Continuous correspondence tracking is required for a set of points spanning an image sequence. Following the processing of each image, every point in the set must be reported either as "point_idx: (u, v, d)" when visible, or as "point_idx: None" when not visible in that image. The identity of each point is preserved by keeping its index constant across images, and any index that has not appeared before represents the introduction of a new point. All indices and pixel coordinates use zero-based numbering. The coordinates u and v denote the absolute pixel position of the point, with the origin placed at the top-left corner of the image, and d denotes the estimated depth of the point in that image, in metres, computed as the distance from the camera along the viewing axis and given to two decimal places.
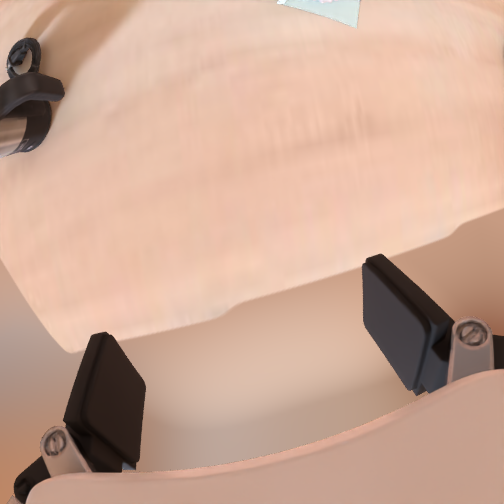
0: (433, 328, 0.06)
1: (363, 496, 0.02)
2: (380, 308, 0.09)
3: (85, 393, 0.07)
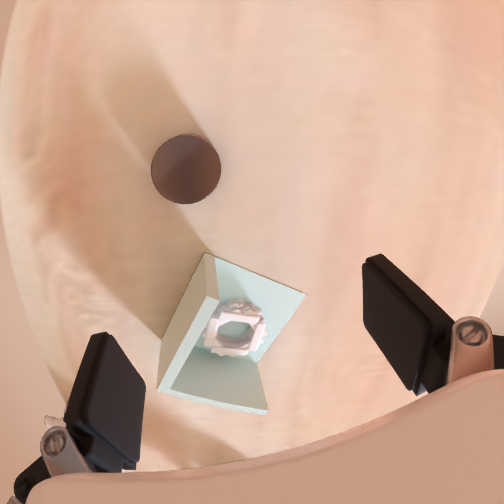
0: (433, 328, 0.06)
1: (363, 496, 0.02)
2: (380, 308, 0.09)
3: (85, 393, 0.07)
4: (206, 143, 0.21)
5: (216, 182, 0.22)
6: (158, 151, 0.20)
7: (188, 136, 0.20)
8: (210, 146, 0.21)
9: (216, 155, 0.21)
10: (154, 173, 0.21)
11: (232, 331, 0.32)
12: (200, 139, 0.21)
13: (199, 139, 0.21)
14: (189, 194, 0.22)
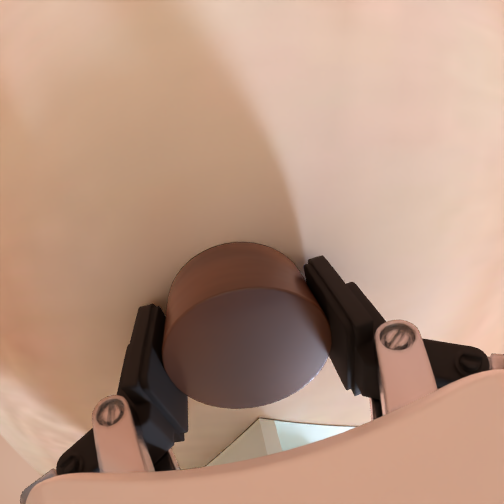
0: (355, 329, 0.07)
1: (363, 496, 0.02)
2: None
3: (142, 359, 0.08)
4: (308, 305, 0.08)
5: (315, 373, 0.10)
6: (177, 325, 0.08)
7: (262, 290, 0.08)
8: (317, 311, 0.08)
9: (327, 328, 0.09)
10: (171, 366, 0.08)
11: None
12: (294, 296, 0.08)
13: (292, 296, 0.08)
14: (255, 396, 0.10)
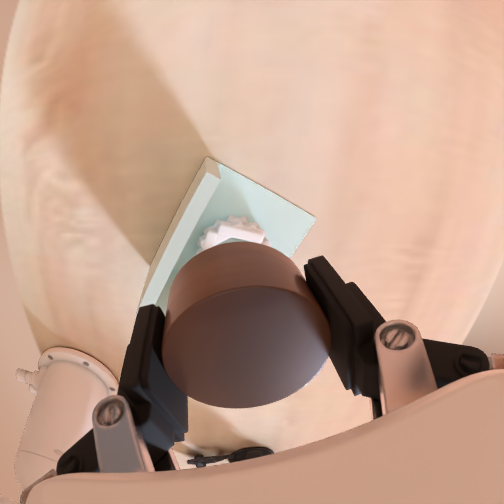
0: (354, 330, 0.07)
1: (363, 496, 0.02)
2: None
3: (142, 359, 0.08)
4: (308, 304, 0.08)
5: (315, 373, 0.10)
6: (177, 324, 0.08)
7: (262, 289, 0.08)
8: (317, 310, 0.08)
9: (327, 327, 0.09)
10: (171, 366, 0.08)
11: None
12: (294, 295, 0.08)
13: (292, 295, 0.08)
14: (255, 395, 0.10)
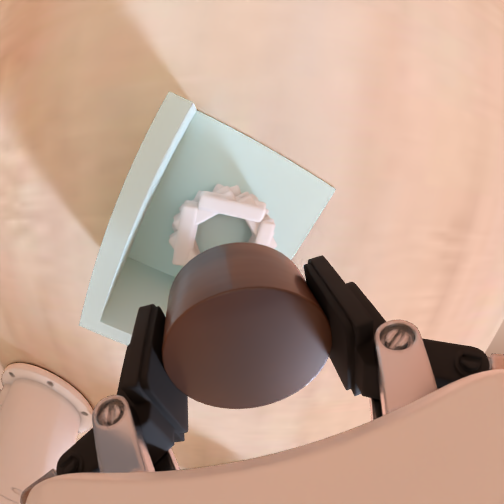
0: (354, 329, 0.07)
1: (363, 496, 0.02)
2: None
3: (142, 359, 0.08)
4: (308, 305, 0.08)
5: (315, 373, 0.10)
6: (177, 325, 0.08)
7: (262, 290, 0.08)
8: (317, 311, 0.08)
9: (327, 328, 0.09)
10: (171, 366, 0.08)
11: None
12: (294, 296, 0.08)
13: (292, 296, 0.08)
14: (255, 396, 0.10)
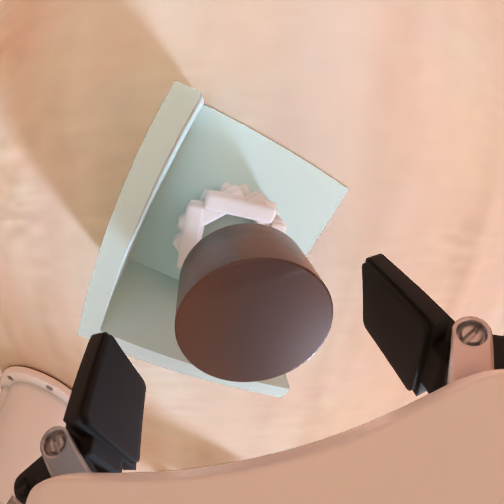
0: (433, 328, 0.06)
1: (363, 496, 0.02)
2: (380, 308, 0.09)
3: (85, 393, 0.07)
4: (311, 276, 0.09)
5: (317, 347, 0.10)
6: (191, 294, 0.09)
7: (269, 261, 0.09)
8: (319, 282, 0.09)
9: (328, 300, 0.09)
10: (183, 337, 0.09)
11: None
12: (298, 268, 0.09)
13: (296, 268, 0.09)
14: (261, 368, 0.10)
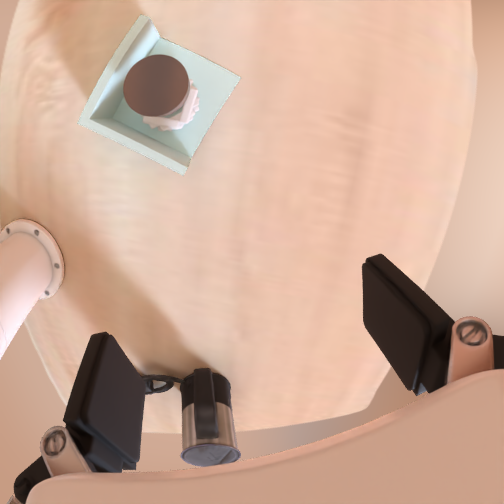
0: (433, 328, 0.06)
1: (363, 496, 0.02)
2: (380, 308, 0.09)
3: (85, 393, 0.07)
4: (176, 61, 0.19)
5: (183, 96, 0.21)
6: (132, 68, 0.19)
7: (160, 55, 0.19)
8: (180, 63, 0.19)
9: (185, 71, 0.20)
10: (126, 87, 0.19)
11: None
12: (171, 57, 0.19)
13: (170, 57, 0.19)
14: (156, 106, 0.21)
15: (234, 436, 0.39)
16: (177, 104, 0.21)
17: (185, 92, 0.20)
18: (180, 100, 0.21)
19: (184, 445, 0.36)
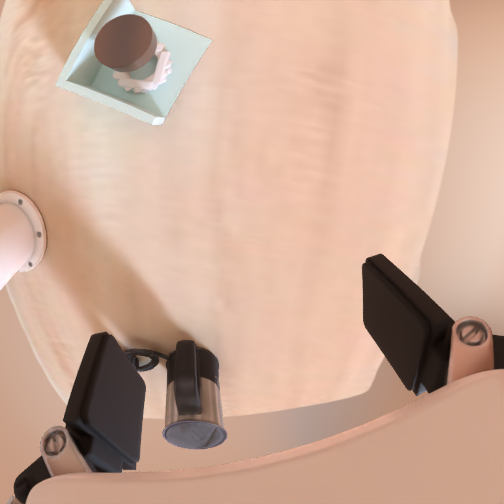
0: (433, 328, 0.06)
1: (363, 496, 0.02)
2: (380, 308, 0.09)
3: (85, 393, 0.07)
4: (141, 18, 0.18)
5: (147, 47, 0.19)
6: (102, 28, 0.17)
7: (127, 14, 0.17)
8: (144, 20, 0.18)
9: (149, 26, 0.18)
10: (96, 45, 0.18)
11: (143, 75, 0.28)
12: (137, 15, 0.17)
13: (136, 16, 0.17)
14: (123, 58, 0.19)
15: (220, 414, 0.37)
16: (142, 54, 0.19)
17: (149, 43, 0.19)
18: (144, 50, 0.19)
19: (166, 423, 0.35)
